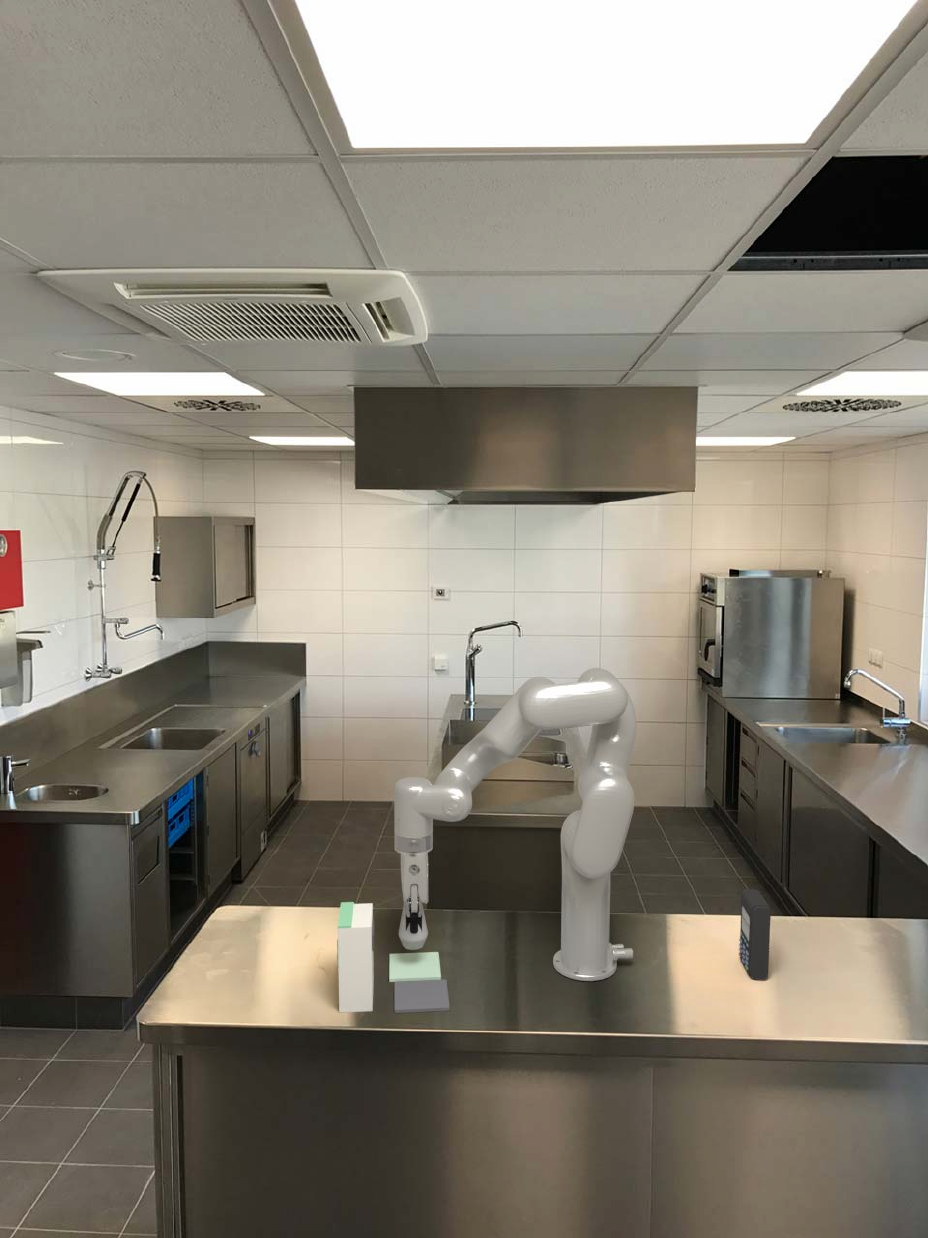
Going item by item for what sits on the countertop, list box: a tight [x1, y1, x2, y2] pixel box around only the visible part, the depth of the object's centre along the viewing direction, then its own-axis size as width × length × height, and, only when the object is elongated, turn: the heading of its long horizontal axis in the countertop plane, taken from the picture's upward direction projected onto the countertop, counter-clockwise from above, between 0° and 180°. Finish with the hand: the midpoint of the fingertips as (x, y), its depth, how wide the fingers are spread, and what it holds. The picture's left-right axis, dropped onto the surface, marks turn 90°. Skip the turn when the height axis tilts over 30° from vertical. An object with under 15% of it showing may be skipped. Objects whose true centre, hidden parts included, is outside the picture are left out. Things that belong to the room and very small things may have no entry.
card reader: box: [738, 888, 772, 980], centre depth 174 cm, size 9×4×15 cm, turn 177°
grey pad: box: [394, 978, 450, 1014], centre depth 165 cm, size 10×10×1 cm
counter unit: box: [336, 901, 375, 1014], centre depth 164 cm, size 7×10×16 cm, turn 5°
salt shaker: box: [398, 885, 429, 951], centre depth 174 cm, size 6×6×13 cm
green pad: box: [388, 951, 442, 983], centre depth 176 cm, size 10×10×1 cm
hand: (413, 929), depth 175 cm, fingers closed on salt shaker, 3 cm apart
